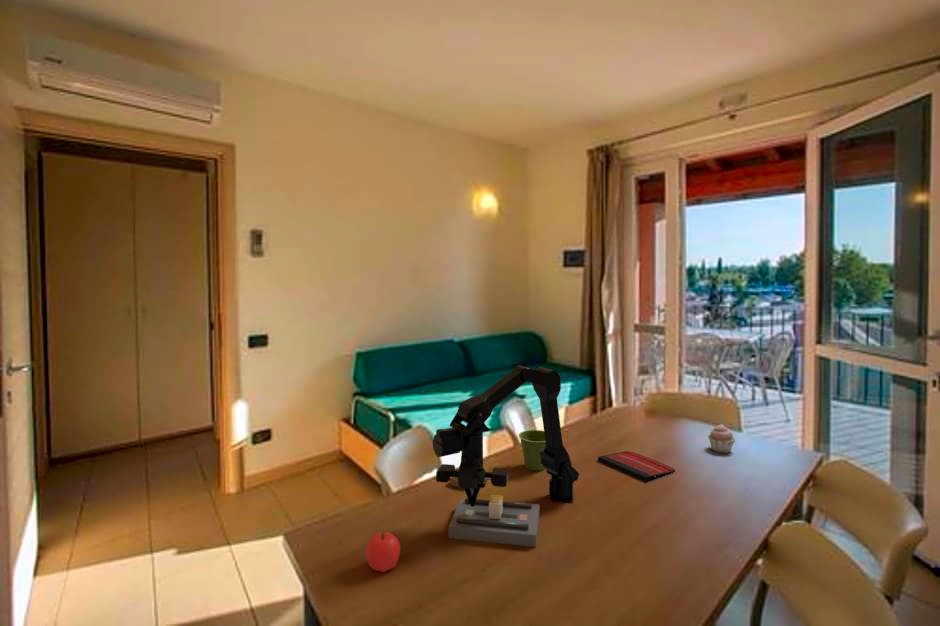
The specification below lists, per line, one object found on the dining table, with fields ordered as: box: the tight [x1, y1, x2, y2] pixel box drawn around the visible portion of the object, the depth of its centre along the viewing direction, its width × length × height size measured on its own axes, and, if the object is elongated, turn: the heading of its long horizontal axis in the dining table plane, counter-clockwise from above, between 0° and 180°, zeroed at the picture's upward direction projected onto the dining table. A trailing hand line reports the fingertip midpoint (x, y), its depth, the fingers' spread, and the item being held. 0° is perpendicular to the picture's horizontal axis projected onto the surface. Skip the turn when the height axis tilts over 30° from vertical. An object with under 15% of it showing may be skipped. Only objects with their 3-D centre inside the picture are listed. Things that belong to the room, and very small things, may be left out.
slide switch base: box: [447, 497, 541, 548], centre depth 129 cm, size 22×16×4 cm
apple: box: [365, 531, 401, 573], centre depth 112 cm, size 8×8×8 cm
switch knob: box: [489, 494, 504, 519], centre depth 129 cm, size 3×5×4 cm, turn 169°
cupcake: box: [707, 423, 736, 454], centre depth 181 cm, size 9×9×10 cm
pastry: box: [448, 477, 461, 489], centre depth 154 cm, size 9×7×4 cm
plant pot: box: [518, 429, 546, 472], centre depth 167 cm, size 12×12×11 cm
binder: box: [597, 450, 676, 483], centre depth 168 cm, size 16×2×21 cm
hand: (472, 506), depth 130 cm, fingers closed
